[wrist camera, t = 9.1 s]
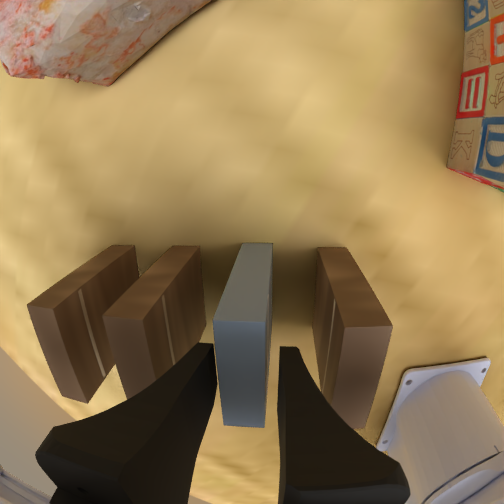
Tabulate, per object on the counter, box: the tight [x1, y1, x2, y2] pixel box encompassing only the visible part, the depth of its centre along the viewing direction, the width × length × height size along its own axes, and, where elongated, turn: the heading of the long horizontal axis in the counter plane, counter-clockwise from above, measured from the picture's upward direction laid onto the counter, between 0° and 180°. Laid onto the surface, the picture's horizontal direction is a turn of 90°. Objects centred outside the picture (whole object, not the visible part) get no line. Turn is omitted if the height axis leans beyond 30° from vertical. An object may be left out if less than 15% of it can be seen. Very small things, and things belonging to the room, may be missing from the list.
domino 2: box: [102, 246, 206, 400], centre depth 14 cm, size 2×5×8 cm, turn 1°
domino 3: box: [312, 247, 393, 429], centre depth 14 cm, size 2×5×8 cm, turn 0°
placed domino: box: [213, 243, 273, 428], centre depth 14 cm, size 2×5×8 cm, turn 1°
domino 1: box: [27, 245, 139, 404], centre depth 15 cm, size 2×5×8 cm, turn 1°
